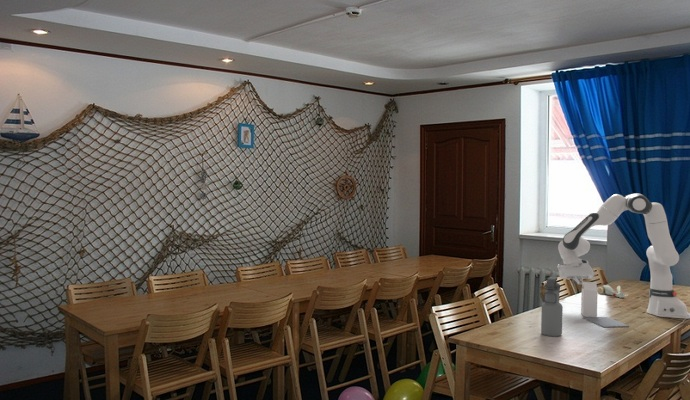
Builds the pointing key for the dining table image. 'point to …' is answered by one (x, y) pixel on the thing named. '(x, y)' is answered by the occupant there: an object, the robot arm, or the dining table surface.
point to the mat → (605, 322)
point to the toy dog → (611, 291)
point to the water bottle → (551, 309)
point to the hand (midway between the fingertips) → (580, 283)
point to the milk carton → (589, 299)
